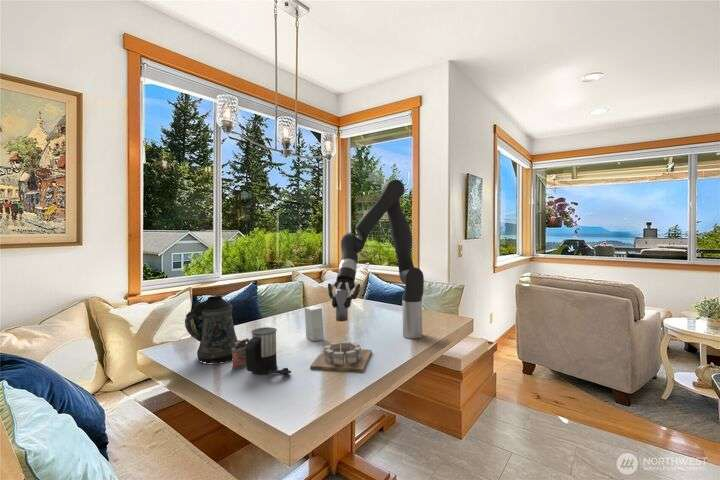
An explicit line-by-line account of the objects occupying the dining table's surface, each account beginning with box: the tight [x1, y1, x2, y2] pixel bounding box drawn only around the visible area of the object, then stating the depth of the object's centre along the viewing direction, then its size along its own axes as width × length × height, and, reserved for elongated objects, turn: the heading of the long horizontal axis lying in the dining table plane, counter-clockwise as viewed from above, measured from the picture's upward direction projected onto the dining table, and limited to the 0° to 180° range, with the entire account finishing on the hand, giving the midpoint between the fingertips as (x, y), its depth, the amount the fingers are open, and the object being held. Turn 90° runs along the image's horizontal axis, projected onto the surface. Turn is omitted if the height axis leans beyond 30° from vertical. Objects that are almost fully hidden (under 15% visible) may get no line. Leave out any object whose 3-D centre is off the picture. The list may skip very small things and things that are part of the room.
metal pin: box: [335, 288, 349, 323], centre depth 134 cm, size 5×5×12 cm
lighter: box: [231, 337, 250, 371], centre depth 130 cm, size 8×3×10 cm, turn 148°
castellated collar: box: [309, 341, 373, 373], centre depth 134 cm, size 20×20×5 cm
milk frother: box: [245, 327, 292, 377], centre depth 124 cm, size 14×16×15 cm
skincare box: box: [304, 305, 325, 342], centre depth 163 cm, size 8×6×15 cm
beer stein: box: [184, 295, 239, 364], centre depth 139 cm, size 16×19×25 cm
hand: (340, 306), depth 132 cm, fingers closed on metal pin, 4 cm apart
